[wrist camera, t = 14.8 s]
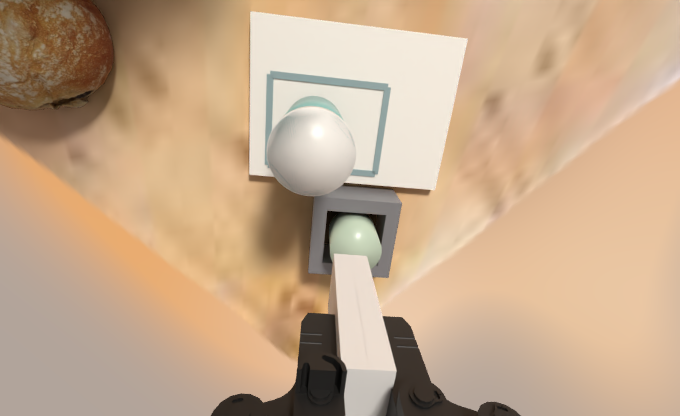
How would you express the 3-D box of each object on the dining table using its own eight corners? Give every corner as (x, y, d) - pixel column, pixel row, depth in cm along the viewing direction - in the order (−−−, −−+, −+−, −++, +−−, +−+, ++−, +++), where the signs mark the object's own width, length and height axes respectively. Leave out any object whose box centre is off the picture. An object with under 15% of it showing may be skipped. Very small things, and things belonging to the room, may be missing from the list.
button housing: (309, 252, 32) (308, 273, 29) (314, 183, 30) (314, 196, 27) (381, 257, 33) (388, 277, 30) (393, 189, 30) (401, 203, 27)
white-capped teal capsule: (283, 148, 28) (264, 191, 18) (287, 90, 26) (269, 101, 16) (338, 155, 28) (349, 200, 18) (345, 98, 27) (362, 114, 17)
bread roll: (63, 108, 30) (32, 160, 24) (-98, -7, 23) (-194, 30, 17) (147, 41, 28) (135, 80, 23) (4, -106, 21) (-66, -101, 15)
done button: (326, 248, 30) (327, 272, 27) (330, 206, 29) (332, 226, 25) (370, 251, 31) (377, 275, 27) (377, 210, 29) (385, 230, 26)
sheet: (251, 172, 29) (249, 175, 28) (252, 13, 25) (250, 11, 24) (432, 187, 31) (435, 190, 30) (463, 39, 26) (468, 38, 25)
